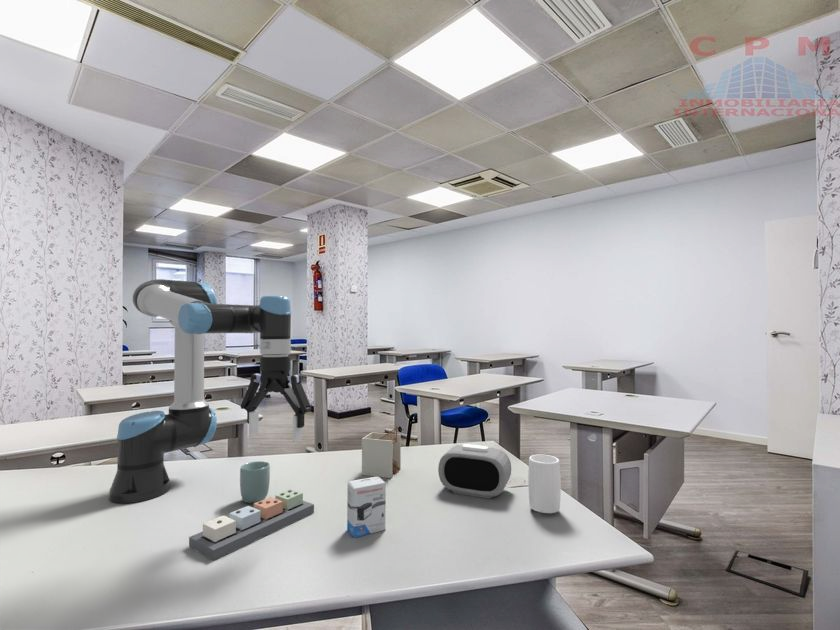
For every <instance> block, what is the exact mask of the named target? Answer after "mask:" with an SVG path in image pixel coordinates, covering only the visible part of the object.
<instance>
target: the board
mask: <svg viewBox="0 0 840 630" xmlns="http://www.w3.org/2000/svg"><path fill="white" fill-rule="evenodd" d="M314 513H315V504H314V503H311V502H309V501H306V500H303V503H302V504H300V505H298V506H295V507H293V508H292V509H291V510H290V509H289V511H288V510H286V509H283V512H282V513H279V514H277V515H275V516H273V517H271V519H270V518H269V519H267V520H264V519H263V518H261V517H260V522H259V523H257V524H255V525H252V526H250V527H249V528H247V529H244V531H243V530H242V531H241V530H240V529H238V528H236V533H234V534H232V535H230V536H227V537H225V539H222V540H220V541H217V542H215V543H212V542H214V541H212V540H210V539H208V538H206V537H204V536H203V531H200V532H199V533H198V532H197V533H196V534H193V535H191V536H188V547H189V548H191V549H192V550H194V551H196V552H197V553H199V554H201V555H203V556H205V557H206V558H208V559H210V560H211V561H216V560H218V559H220V558H222V557H224V556H226V555H228V554H230V553H232V552H234V551H236V550H238V549H240V548H243V547H245V546H247V545H249V544H251V543H254V542H256V541H258V540H260V539H262V538H264V537H266V536H269V535H270V534H272V533H274V532H277V531H278V530H280V529H283V528H285V527H287V526H289V525H291V524H293V523H295V522H298V521H299V520H301V519H304V518H306V517H308V516H310V515H312V514H314Z"/></svg>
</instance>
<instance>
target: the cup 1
mask: <svg viewBox="0 0 840 630" xmlns="http://www.w3.org/2000/svg"><path fill="white" fill-rule="evenodd" d="M270 471H271V465H270V462H268V461H251V462H250V461H249V462H247V463H244V464H242V465H241V466H240V470H239V490H240V496H241V499H242V501H243V502H244V503H247V504H254V503H256V502H259V501H262V500H264V499H267V496H268V493H269V489H270V478H271V475H270V474H271V472H270Z"/></svg>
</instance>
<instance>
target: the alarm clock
mask: <svg viewBox="0 0 840 630" xmlns="http://www.w3.org/2000/svg"><path fill="white" fill-rule="evenodd" d="M438 462H439V463H438V469H437V470H438V471H437V472H438V477H439V480H440V482H441V484H442V485H443V486H444V487H445V488H446V489H447V490H451V491H452V493H453V494H459V495H464V496H465V495H466V496H471V497H476V498H484V499H490V500H491V499H492V498H493V497H496V496H498V495H500V494H502V493H503V491H504V490H505V488H506V486H507V484H508V483H509V480H510V478H511V475H512V462H511V459H510V457H509V455H508V454H507V453H506V451H503V450H502V449H499V448H497V447H496V448H495V447H489V446H485V445H480V444H479V445H478V444H470V443H468V444H467V443H465V444H455V445H454V446H452V447H451V448H450V449H449V450H448V451H446V452H445V453H444V454H443V455H442V456H441V458H440V459H439V461H438Z"/></svg>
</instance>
